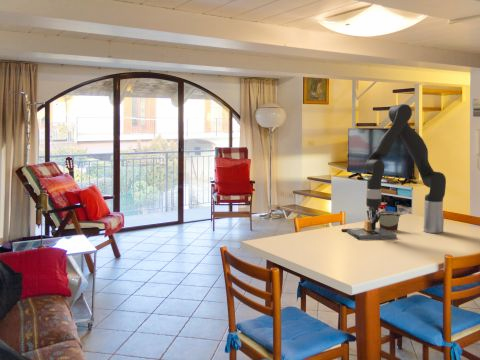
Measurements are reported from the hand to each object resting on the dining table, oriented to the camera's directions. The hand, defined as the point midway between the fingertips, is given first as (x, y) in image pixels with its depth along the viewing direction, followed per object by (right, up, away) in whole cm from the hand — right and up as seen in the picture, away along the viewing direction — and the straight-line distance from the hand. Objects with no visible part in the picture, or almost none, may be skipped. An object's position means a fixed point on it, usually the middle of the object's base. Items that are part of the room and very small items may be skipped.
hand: (373, 229), depth 250 cm
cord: (-10, -3, +1) cm, 11 cm away
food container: (+13, -2, +17) cm, 21 cm away
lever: (-1, -3, +5) cm, 6 cm away
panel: (0, -3, +2) cm, 4 cm away
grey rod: (-9, -2, +12) cm, 15 cm away
